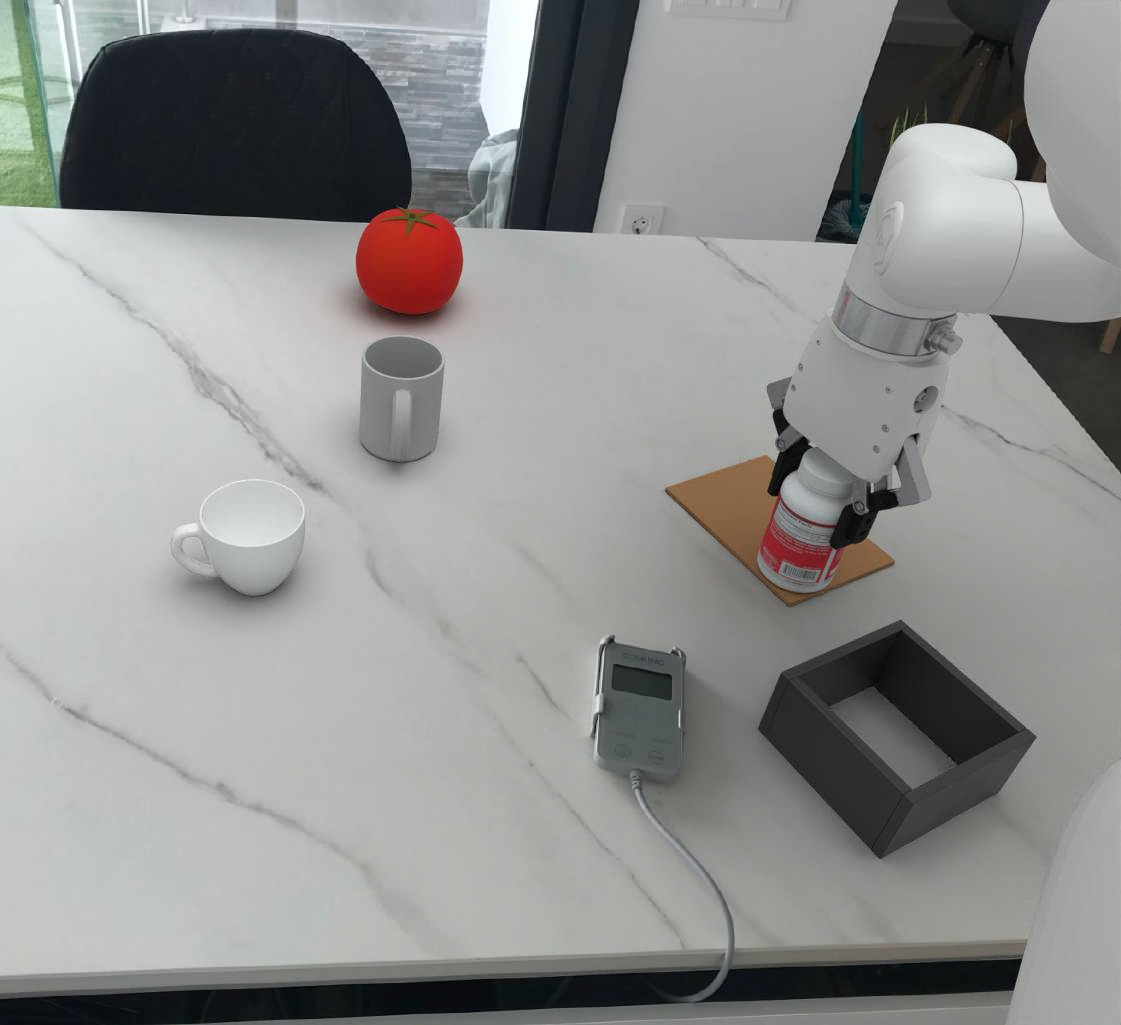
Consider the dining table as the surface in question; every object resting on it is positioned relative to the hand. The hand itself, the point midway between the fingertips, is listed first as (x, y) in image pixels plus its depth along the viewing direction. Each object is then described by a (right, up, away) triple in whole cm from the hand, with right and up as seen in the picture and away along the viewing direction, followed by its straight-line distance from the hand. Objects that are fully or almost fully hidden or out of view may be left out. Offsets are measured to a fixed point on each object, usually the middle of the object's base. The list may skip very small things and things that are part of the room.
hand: (814, 514), depth 85 cm
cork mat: (0, -1, +9) cm, 9 cm away
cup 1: (-45, -5, -1) cm, 45 cm away
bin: (+1, -17, -10) cm, 20 cm away
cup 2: (-33, +6, +13) cm, 36 cm away
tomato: (-33, +23, +33) cm, 52 cm away
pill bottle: (0, -5, +4) cm, 6 cm away
